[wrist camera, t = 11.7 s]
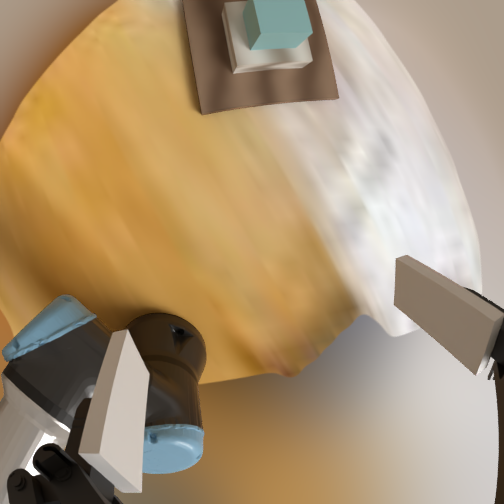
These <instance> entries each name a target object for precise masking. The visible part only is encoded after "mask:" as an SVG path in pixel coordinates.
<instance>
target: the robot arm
mask: <svg viewBox="0 0 504 504" xmlns="http://www.w3.org/2000/svg"><path fill="white" fill-rule="evenodd" d="M394 305H395V306H396V307H397V308H398V309H400V310H401V311H402V312H403V313H404V314H406V315H407V316H408V317H409V318H410V319H411V320H413V321H414V322H415V323H416V324H417V325H419V326H420V327H421V328H422V329H423V330H425V331H426V332H427V333H428V334H429V335H430V336H431V337H433V338H434V339H435V340H436V341H437V342H438V343H440V344H441V345H442V346H443V347H444V348H445V349H446V350H448V351H449V352H450V353H451V354H452V355H453V356H454V357H455V358H457V359H458V360H459V361H460V362H461V363H462V364H463V365H464V366H465V367H466V368H468V369H469V370H470V371H471V372H472V373H473V374H474V375H475V376H476V375H478V374H479V373H480V372H481V371H483V370H484V369H485V368H486V367H487V365H488V362H489V359H490V357H492V358H493V359H494V360H495V361H494V363H493V366H492V368H491V371H490V373H489V375H488V380H490V378H491V376H492V374H493V373H494V377H493V380H495V386H496V395H497V407H498V425H499V461H498V478H497V489H496V498H495V504H504V309H502V308H501V307H499V306H498V305H496V304H495V303H493V302H492V301H490V300H488V299H487V298H485V297H484V296H481V295H480V294H479V293H477V292H476V291H474V290H471V289H468V288H465V287H462V286H460V285H458V284H457V283H455V282H453V281H452V280H450V279H448V278H447V277H445V276H443V275H442V274H440V273H438V272H436V271H435V270H433V269H431V268H430V267H428V266H426V265H424V264H423V263H421V262H419V261H417V260H415V259H414V258H412V257H410V256H408V255H405V256H402V257H399V258H396V272H395V294H394ZM2 355H3V356H4V359H5V360H6V361H7V362H8V361H9V363H8V365H7V366H6V368H5V369H4V371H3V372H2V374H1V377H2V383H3V388H4V397H3V398H2V400H1V401H0V504H123V503H122V502H121V501H120V500H119V498H118V497H116V496H115V495H114V486H115V487H116V488H117V489H119V490H120V491H121V492H123V493H140V492H142V472H143V473H152V474H164V473H173V472H177V471H181V470H184V469H187V468H189V467H191V466H193V465H194V464H195V463H196V462H198V461H199V459H200V458H201V456H202V453H203V436H204V432H203V427H202V420H201V410H200V402H199V391H198V382H199V380H200V377H201V375H202V372H203V370H204V367H205V364H206V347H205V342H204V340H203V338H202V336H201V334H200V333H199V331H198V330H197V329H196V328H195V327H194V326H193V325H191V324H190V323H189V322H187V321H185V320H184V319H182V318H179V317H177V316H173V315H169V314H162V313H155V314H148V315H144V316H141V317H139V318H137V319H135V320H133V321H132V322H131V323H130V324H129V325H128V326H127V327H126V328H125V330H121V331H116V332H113V333H112V332H111V331H110V330H109V329H108V328H107V327H106V326H105V325H104V324H103V323H102V322H101V321H100V320H99V319H98V318H97V315H96V314H95V313H92V312H90V311H89V310H88V309H87V308H86V307H85V306H84V305H83V304H81V303H80V302H79V301H78V300H77V299H76V298H75V297H73V296H71V295H67V294H64V295H60V296H58V297H57V298H56V299H54V300H53V301H52V302H51V303H50V304H49V305H48V306H47V307H46V308H44V309H43V310H42V311H41V312H40V313H39V314H38V315H37V316H36V317H35V318H34V319H33V320H32V321H30V322H29V323H28V324H27V325H26V326H25V327H24V328H23V329H22V330H21V331H20V332H19V333H18V334H17V335H16V336H15V337H14V338H13V340H11V341H10V342H9V343H8V344H7V345H6V346H5V347H4V348H3V350H2ZM65 446H66V449H65V451H64V448H65Z"/></svg>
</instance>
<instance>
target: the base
mask: <svg viewBox="0 0 504 504" xmlns="http://www.w3.org/2000/svg"><path fill="white" fill-rule="evenodd" d="M182 1H183V8H184V14H185V20H186V26H187V33H188V39H189V45H190V51H191V57H192V63H193V68H194V74H195V80H196V86H197V91H198V97H199V102H200V108H201V113H202V115H206V114H211V113H216V112H222V111H228V110H234V109H241V108H247V107H255V106H262V105H271V104H280V103H290V102H302V101H316V100H335V99H338V98H339V95H338V90H337V84H336V79H335V74H334V70H333V65H332V60H331V56H330V52H329V47H328V43H327V39H326V35H325V31H324V27H323V24H322V20H321V16H320V13H319V9H318V6H317V2H316V0H304V1H305V5H306V8H307V12H308V15H309V19H310V23H311V27H312V31H313V33H312V34H311V35H310V36H309V37H308V38H306V39H305V40H304V41H303V42H302V43H301V44H300V45H299V46H297V47H296V48H282V49H264V50H251V51H250V47H249V42H248V37H247V32H246V27H245V23H244V18H243V10H244V8H245V5H246V3H247V1H248V0H182Z"/></svg>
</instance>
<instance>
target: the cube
mask: <svg viewBox="0 0 504 504" xmlns="http://www.w3.org/2000/svg"><path fill="white" fill-rule="evenodd" d="M243 18H244V23H245V27H246V32H247V37H248V42H249V47H250V51H251V50H264V49H282V48H296V47H297V46H299V45H300V44H301V43H302V42H303V41H304V40H305V39H306V38H308V37H309V36H310V35H311V34H312V33H313V31H312V27H311V23H310V19H309V15H308V12H307V8H306V5H305V1H304V0H248V1H247V3H246V5H245V8H244V10H243Z"/></svg>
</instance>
